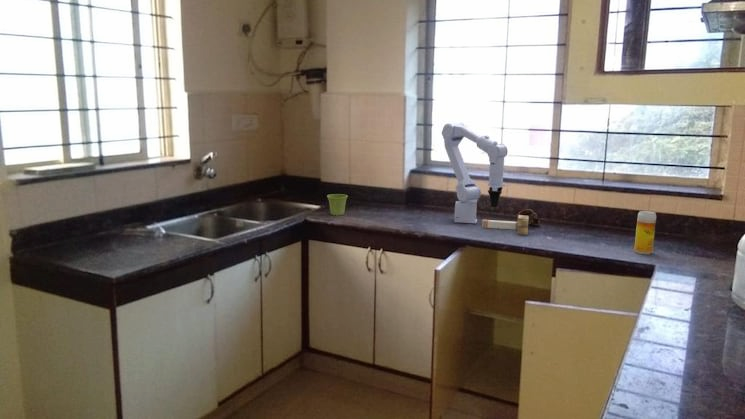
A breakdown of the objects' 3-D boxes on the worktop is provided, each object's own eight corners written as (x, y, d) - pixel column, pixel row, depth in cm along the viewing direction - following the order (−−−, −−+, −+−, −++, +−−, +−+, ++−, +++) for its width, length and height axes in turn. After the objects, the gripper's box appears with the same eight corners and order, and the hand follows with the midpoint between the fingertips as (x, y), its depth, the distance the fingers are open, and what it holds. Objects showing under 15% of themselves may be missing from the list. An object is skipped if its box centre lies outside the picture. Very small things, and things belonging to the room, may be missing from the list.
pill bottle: (650, 255, 215) (655, 214, 212) (632, 253, 218) (636, 212, 215) (653, 252, 220) (657, 211, 217) (635, 249, 223) (639, 209, 220)
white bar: (482, 227, 255) (482, 220, 255) (482, 226, 258) (482, 219, 257) (518, 229, 252) (519, 223, 251) (518, 228, 254) (519, 221, 254)
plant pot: (346, 216, 272) (347, 197, 270) (326, 216, 272) (326, 197, 270) (348, 212, 281) (348, 194, 279) (327, 212, 281) (327, 193, 280)
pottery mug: (544, 229, 256) (539, 213, 252) (524, 238, 257) (518, 223, 253) (534, 216, 267) (529, 201, 263) (515, 225, 268) (509, 210, 264)
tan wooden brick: (517, 234, 244) (518, 218, 243) (517, 230, 251) (518, 214, 250) (527, 234, 243) (528, 219, 242) (527, 230, 250) (528, 215, 249)
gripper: (505, 176, 243) (503, 209, 246) (506, 171, 257) (504, 203, 260) (487, 175, 245) (486, 208, 247) (489, 170, 259) (487, 202, 261)
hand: (494, 205), depth 254 cm, fingers open, 7 cm apart
